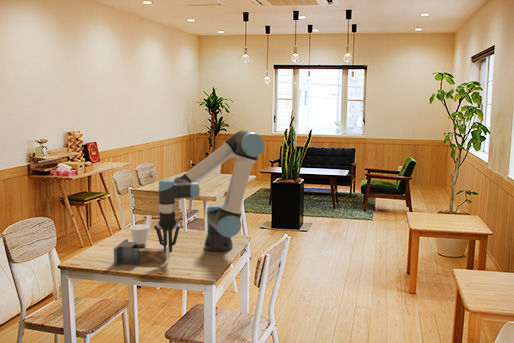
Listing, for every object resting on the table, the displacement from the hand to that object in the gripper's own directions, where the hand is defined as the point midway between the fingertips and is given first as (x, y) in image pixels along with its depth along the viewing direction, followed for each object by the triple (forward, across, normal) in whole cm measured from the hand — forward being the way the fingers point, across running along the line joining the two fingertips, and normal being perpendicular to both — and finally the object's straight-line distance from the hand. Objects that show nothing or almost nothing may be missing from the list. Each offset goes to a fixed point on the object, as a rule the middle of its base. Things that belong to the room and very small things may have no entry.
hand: (168, 258), depth 248 cm
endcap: (+2, +19, 0) cm, 19 cm away
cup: (+2, +22, -22) cm, 31 cm away
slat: (+2, +11, -1) cm, 11 cm away
